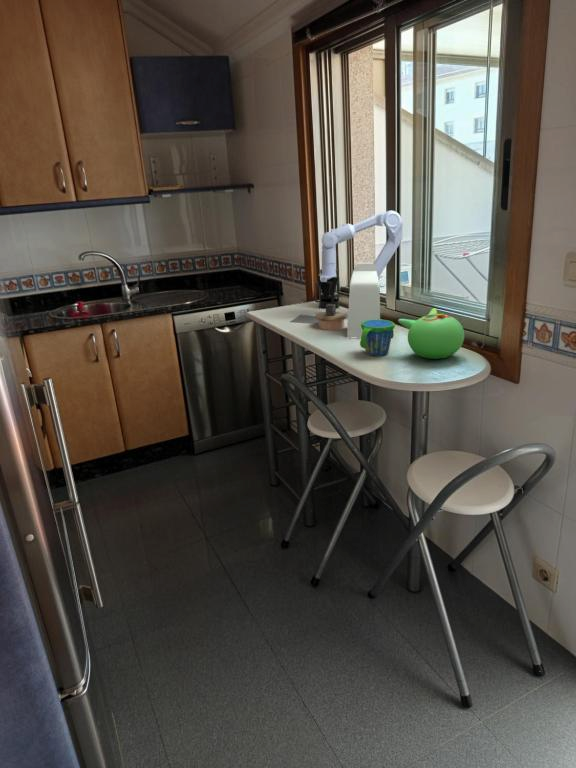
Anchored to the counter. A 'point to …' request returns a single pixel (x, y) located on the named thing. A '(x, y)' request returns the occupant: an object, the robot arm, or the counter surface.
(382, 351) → the snack cup
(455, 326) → the green teapot
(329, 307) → the lid
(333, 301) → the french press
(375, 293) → the milk
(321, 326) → the bowl
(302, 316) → the mat
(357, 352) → the counter surface
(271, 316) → the counter surface
